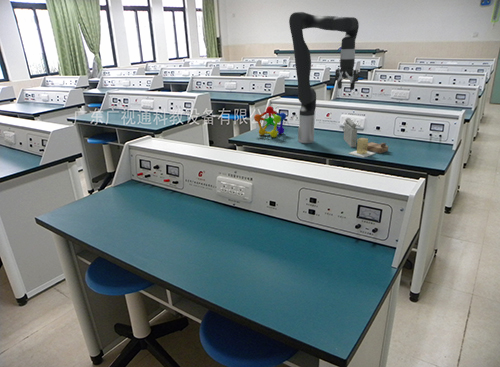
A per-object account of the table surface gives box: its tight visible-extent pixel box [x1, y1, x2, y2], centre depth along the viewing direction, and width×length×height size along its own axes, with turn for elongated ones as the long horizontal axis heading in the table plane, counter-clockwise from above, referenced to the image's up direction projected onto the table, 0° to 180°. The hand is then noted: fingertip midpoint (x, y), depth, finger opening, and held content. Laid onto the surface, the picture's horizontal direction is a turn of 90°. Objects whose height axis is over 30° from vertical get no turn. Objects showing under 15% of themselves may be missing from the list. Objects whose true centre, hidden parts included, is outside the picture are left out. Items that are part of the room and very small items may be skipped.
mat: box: [348, 149, 376, 159], centre depth 200 cm, size 10×10×1 cm
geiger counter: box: [342, 117, 358, 148], centre depth 222 cm, size 14×6×25 cm
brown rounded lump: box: [367, 141, 389, 155], centre depth 205 cm, size 12×7×5 cm, turn 35°
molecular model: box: [253, 105, 287, 138], centre depth 246 cm, size 21×15×20 cm
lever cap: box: [356, 137, 369, 154], centre depth 199 cm, size 4×4×8 cm
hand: (345, 89), depth 199 cm, fingers open, 8 cm apart
